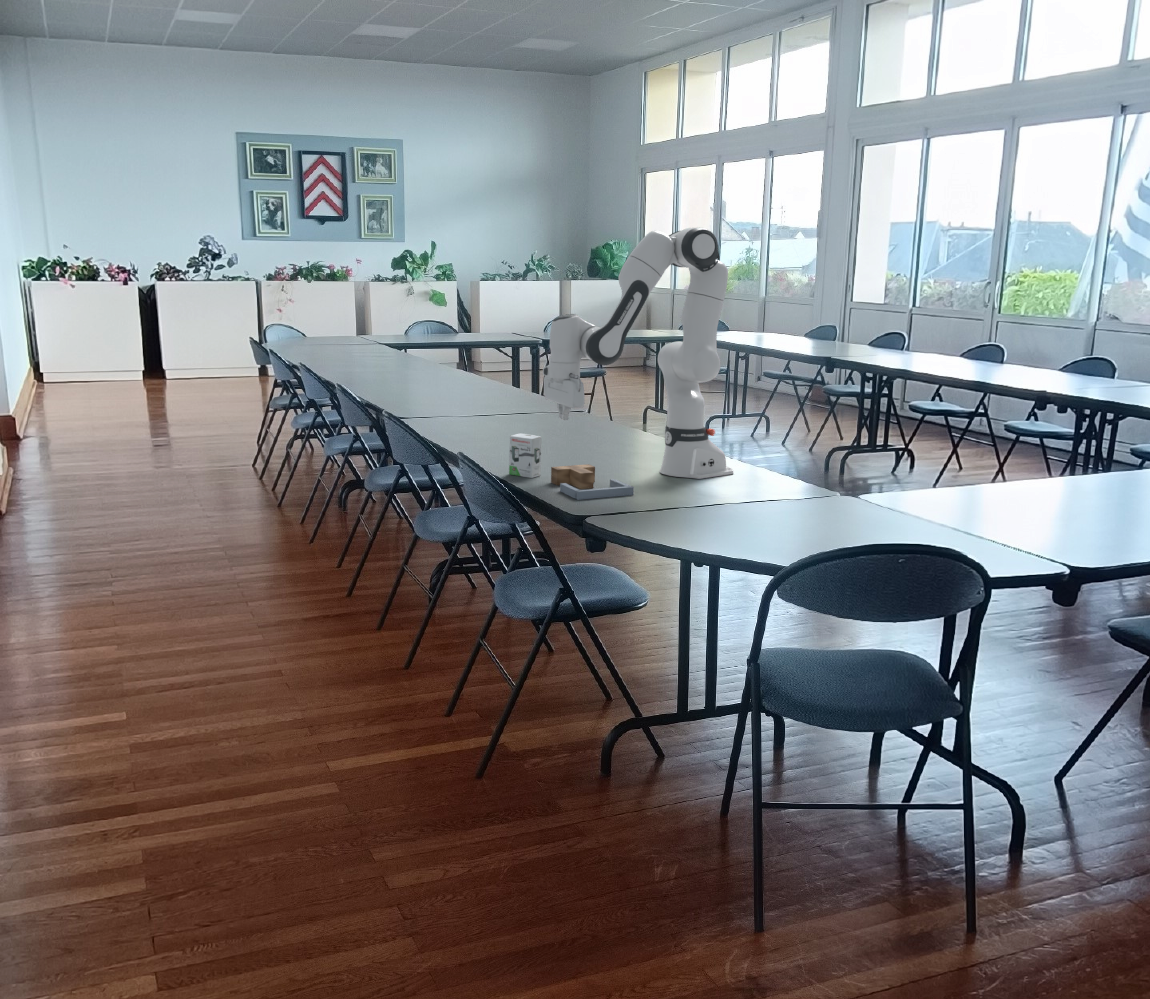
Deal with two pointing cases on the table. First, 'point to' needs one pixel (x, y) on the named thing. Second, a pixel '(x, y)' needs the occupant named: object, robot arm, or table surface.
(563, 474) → the t block
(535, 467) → the ink box
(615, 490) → the bay fence
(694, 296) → the robot arm
